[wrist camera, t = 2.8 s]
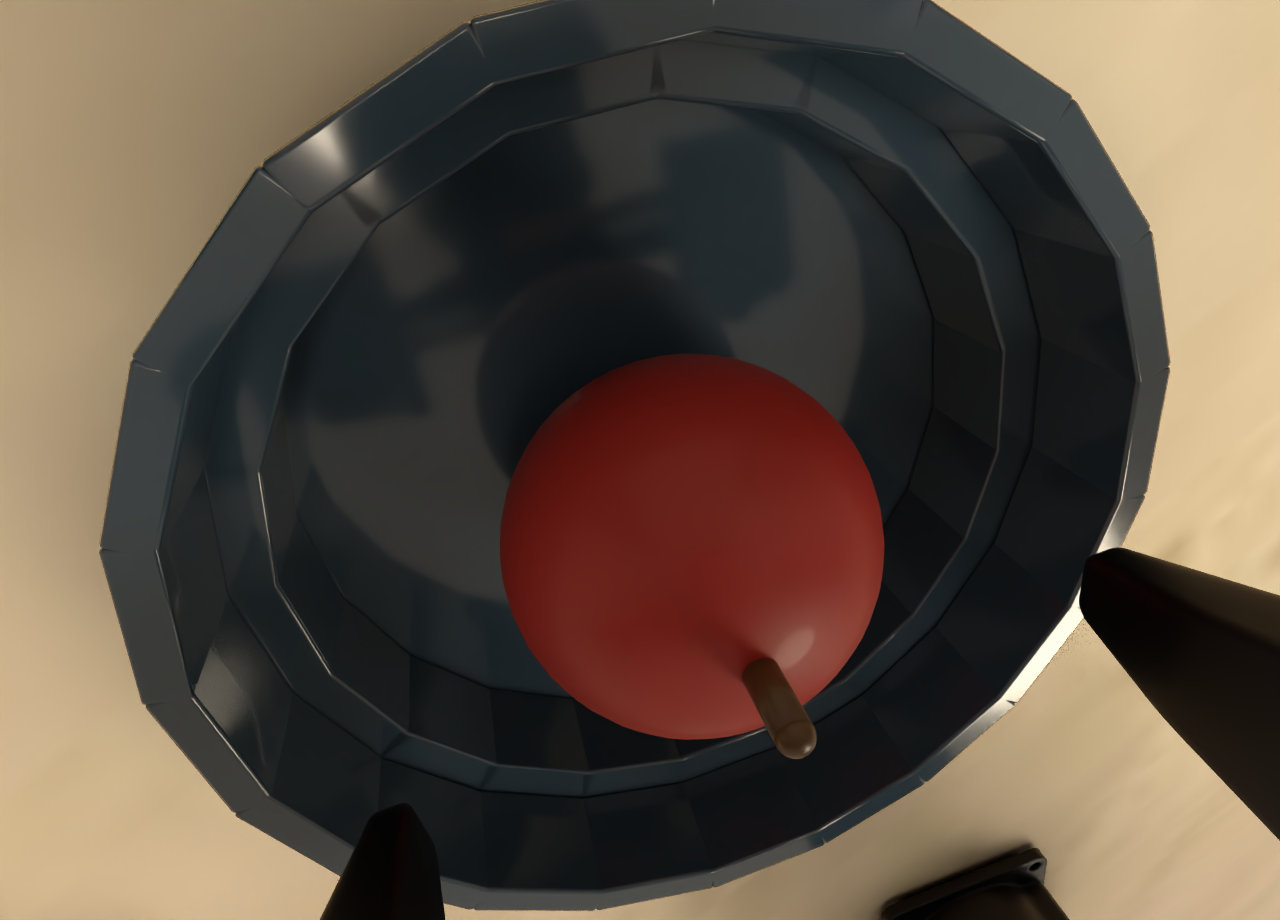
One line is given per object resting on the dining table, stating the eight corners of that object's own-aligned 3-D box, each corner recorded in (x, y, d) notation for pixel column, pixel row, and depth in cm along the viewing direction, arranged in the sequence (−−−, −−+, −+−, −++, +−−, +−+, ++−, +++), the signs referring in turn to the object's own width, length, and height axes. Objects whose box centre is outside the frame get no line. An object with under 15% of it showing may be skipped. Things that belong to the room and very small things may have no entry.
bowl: (977, -96, 12) (1277, -176, 8) (957, 591, 20) (1102, 738, 16) (4, 137, 10) (-286, 198, 6) (403, 789, 18) (397, 1012, 14)
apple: (766, 265, 13) (1065, 450, 7) (797, 527, 16) (1022, 813, 10) (439, 360, 13) (455, 656, 6) (536, 615, 16) (609, 978, 10)
